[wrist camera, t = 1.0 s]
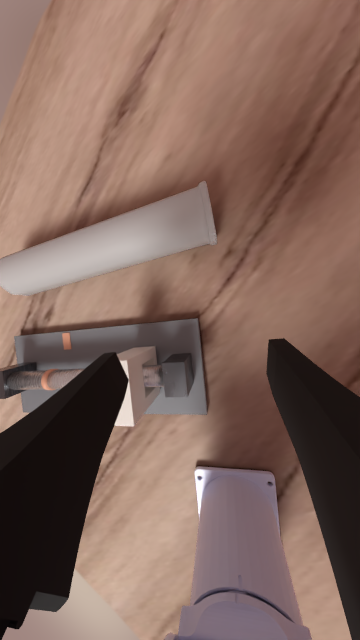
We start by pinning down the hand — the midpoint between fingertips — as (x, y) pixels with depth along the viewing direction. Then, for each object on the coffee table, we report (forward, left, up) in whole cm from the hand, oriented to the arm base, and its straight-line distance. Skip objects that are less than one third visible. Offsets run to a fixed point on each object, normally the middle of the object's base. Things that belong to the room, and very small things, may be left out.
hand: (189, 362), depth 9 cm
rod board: (-3, +13, -11) cm, 17 cm away
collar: (-3, +7, -10) cm, 13 cm away
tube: (+10, +11, -12) cm, 19 cm away
